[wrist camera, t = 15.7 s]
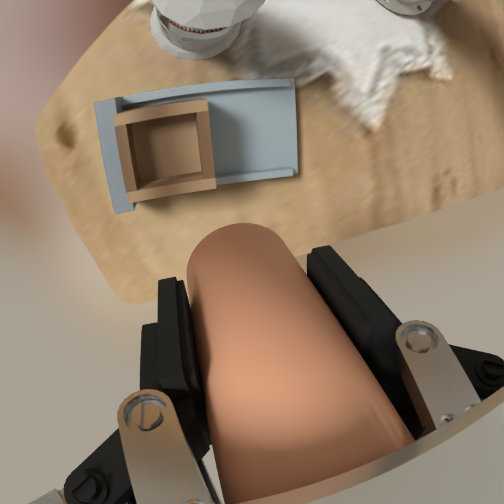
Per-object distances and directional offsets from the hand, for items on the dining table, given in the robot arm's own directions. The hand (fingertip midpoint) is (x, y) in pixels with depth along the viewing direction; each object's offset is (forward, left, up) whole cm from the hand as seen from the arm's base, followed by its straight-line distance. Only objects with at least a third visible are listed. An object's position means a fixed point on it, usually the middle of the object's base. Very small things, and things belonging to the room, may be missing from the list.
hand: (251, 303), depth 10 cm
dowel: (0, 0, -2) cm, 2 cm away
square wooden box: (+3, -2, -26) cm, 26 cm away
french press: (-1, -16, -28) cm, 32 cm away
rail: (-1, -2, -27) cm, 28 cm away
